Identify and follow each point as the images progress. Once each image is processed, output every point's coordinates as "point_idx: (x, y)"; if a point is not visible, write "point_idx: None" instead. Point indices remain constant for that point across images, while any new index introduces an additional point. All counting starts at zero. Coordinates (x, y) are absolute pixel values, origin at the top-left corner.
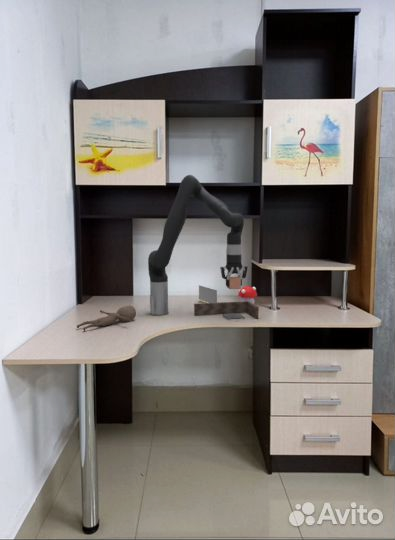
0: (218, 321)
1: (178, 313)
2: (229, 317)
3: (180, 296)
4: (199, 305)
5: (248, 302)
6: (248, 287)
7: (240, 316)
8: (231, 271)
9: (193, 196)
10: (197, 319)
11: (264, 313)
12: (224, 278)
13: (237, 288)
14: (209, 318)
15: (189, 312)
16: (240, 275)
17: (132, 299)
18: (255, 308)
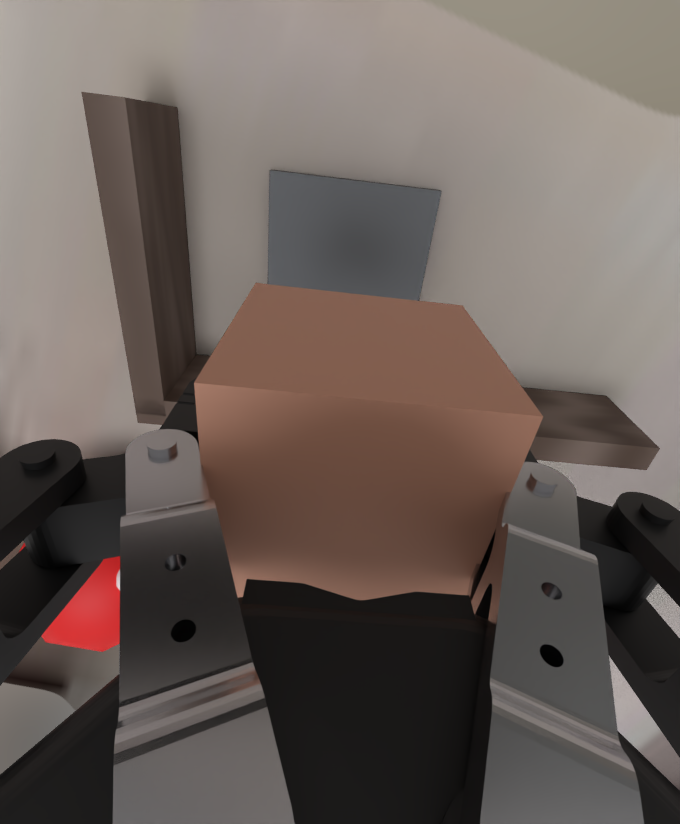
0: (556, 142)
1: (657, 483)
2: (412, 214)
3: None
4: (612, 436)
5: (155, 367)
6: (66, 615)
7: (300, 217)
8: (535, 665)
9: None
10: (666, 284)
11: (49, 291)
12: (640, 499)
13: (320, 294)
14: (560, 283)
15: (577, 485)
16: (159, 506)
17: (651, 742)
18: (132, 99)
